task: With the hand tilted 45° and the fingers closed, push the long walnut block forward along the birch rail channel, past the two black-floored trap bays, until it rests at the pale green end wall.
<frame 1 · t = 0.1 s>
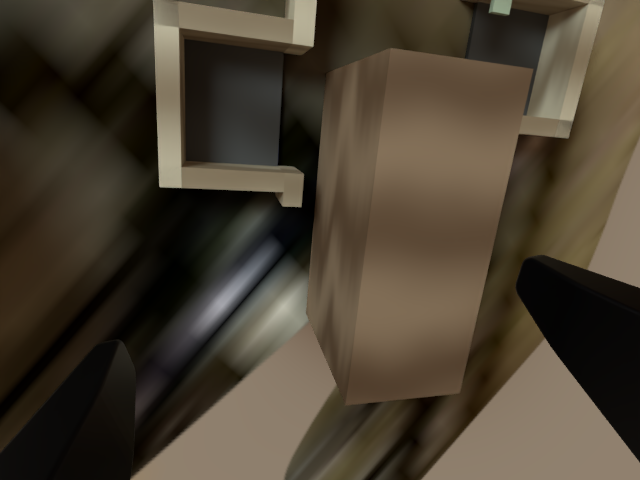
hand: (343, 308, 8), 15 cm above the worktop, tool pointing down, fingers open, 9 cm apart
rail channel: (377, 65, 22), on the worktop
walnut block: (360, 205, 25), on the worktop
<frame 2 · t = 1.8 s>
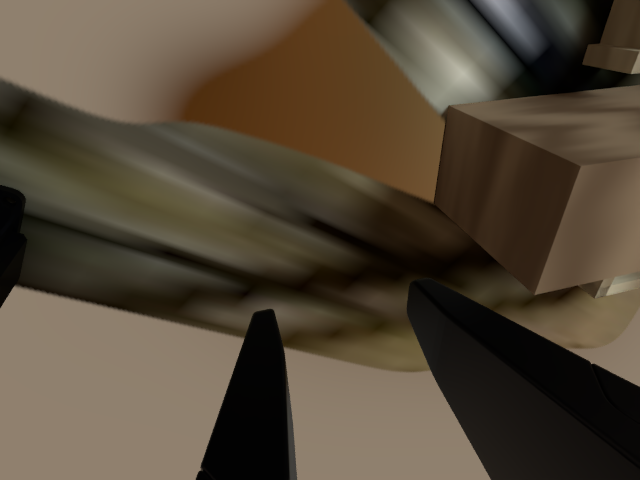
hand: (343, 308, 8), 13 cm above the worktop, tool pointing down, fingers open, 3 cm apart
walnut block: (549, 142, 24), on the worktop
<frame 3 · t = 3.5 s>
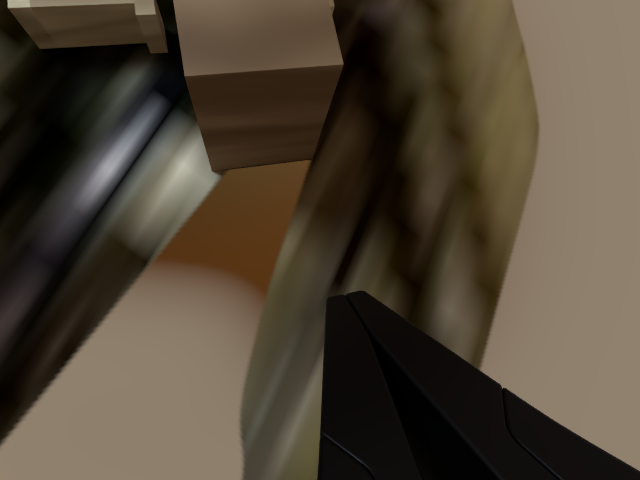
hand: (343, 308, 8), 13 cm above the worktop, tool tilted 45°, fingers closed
walnut block: (243, 56, 25), on the worktop
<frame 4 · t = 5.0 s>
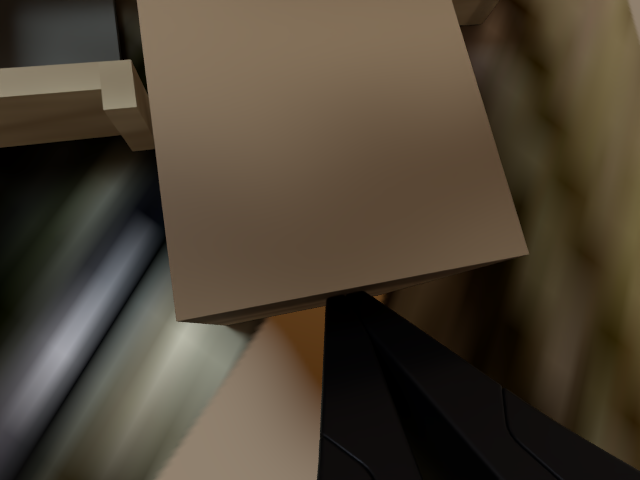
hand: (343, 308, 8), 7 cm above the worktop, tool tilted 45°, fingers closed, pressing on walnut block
walnut block: (271, 133, 16), on the worktop, touching gripper
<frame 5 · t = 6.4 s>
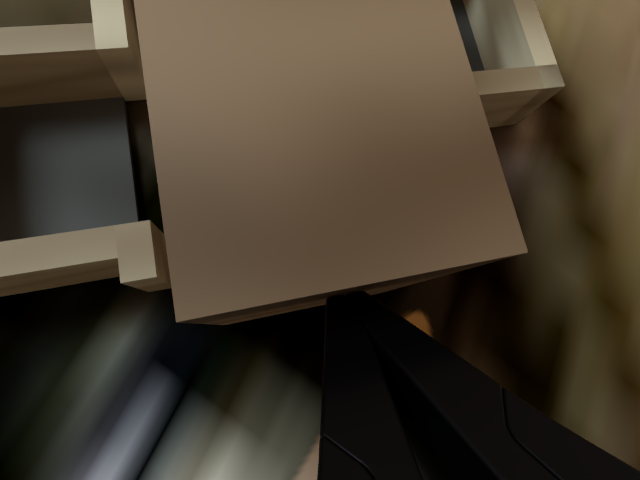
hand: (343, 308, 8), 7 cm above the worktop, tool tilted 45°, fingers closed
rail channel: (262, 89, 17), on the worktop
walnut block: (269, 132, 16), on the worktop
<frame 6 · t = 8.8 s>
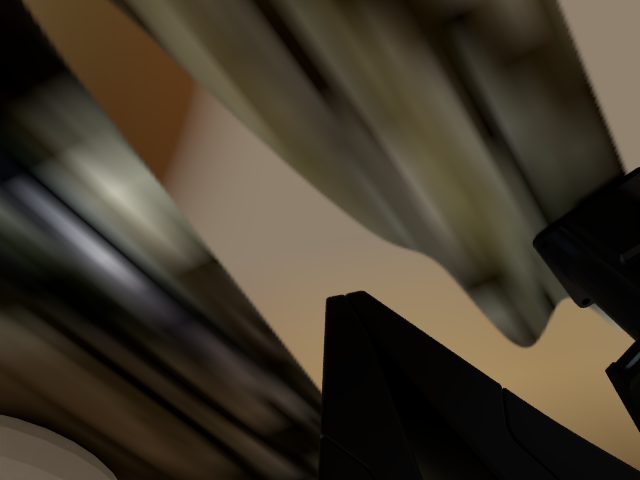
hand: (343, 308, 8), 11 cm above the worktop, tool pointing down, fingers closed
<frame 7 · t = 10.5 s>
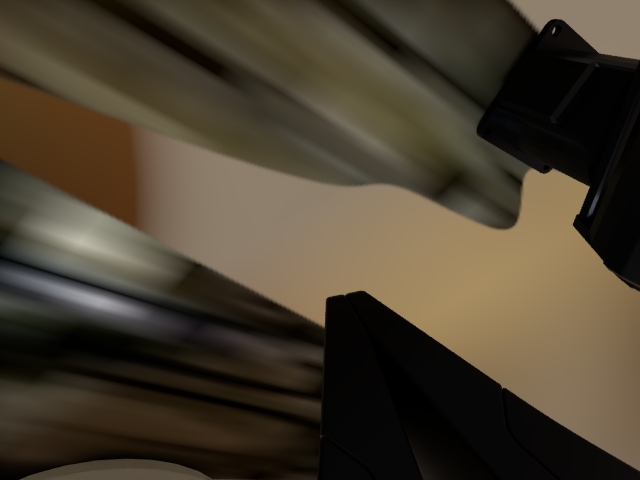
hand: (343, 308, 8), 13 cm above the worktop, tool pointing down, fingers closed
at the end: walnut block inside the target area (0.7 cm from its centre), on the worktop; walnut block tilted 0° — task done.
